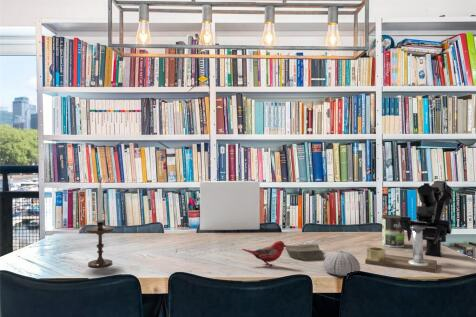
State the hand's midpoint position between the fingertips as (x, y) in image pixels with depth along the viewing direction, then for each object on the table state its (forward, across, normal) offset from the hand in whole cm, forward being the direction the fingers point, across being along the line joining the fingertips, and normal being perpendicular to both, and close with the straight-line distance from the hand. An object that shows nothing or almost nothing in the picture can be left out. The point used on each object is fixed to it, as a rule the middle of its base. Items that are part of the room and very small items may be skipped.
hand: (421, 242), depth 153 cm
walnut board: (+8, -7, +4) cm, 12 cm away
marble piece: (+18, -43, -4) cm, 46 cm away
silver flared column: (+8, 0, +2) cm, 8 cm away
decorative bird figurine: (+34, -48, -21) cm, 63 cm away
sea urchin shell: (+27, -20, -14) cm, 36 cm away
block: (-2, -109, +16) cm, 110 cm away
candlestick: (+62, -100, -50) cm, 127 cm away
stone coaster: (+8, 0, +2) cm, 9 cm away
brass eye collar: (+10, -15, 0) cm, 18 cm away
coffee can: (-14, -19, +28) cm, 36 cm away
